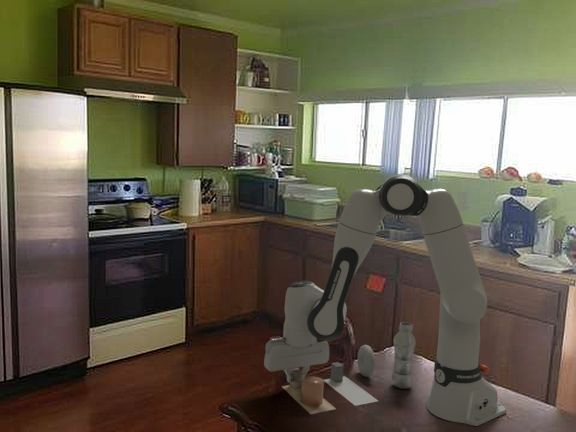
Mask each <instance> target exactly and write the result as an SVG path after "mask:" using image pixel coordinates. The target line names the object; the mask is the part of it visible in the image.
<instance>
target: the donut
mask: <svg viewBox="0 0 576 432" xmlns="http://www.w3.org/2000/svg"><path fill="white" fill-rule="evenodd" d="M375 362H376V359H375V354H374V350H373V349H372V347H371V346H370V345H368V344H364V345H362V346H360V348H359V349H358V353H357V366H358V370H359V373H360V374H361V376H363V377H365V378H368V377H371V376H372V375H373V374H374V371H375V366H376V365H375V364H376V363H375Z"/></svg>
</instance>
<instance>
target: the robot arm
mask: <svg viewBox="0 0 576 432" xmlns="http://www.w3.org/2000/svg"><path fill="white" fill-rule="evenodd" d="M388 214H391V215H394V216H396V217H397V216H399V217H408V216H409V217H416V218H417V220H418V222H419V225H420V229H421V233H422V236H423V239H424V243H425V245H426V249H427V252H428V255H429V258H430V261H431V265H432V269H433V271H434V275H435V278H436V281H437V284H438V288H439V293H440V294H439V295H440V296H439V297H440V298H439V299H440V300H439V315H438V317H439V318H438V340H437V351H436V358H435V359H434V367H433V372H434V374H433V380H432V383H431V389H430V393H429V394H428V400H427V403H426V408H427V410H428V411H429V412H430V413H431V414H432V415H434V416H436V417H438V418H440V419H443V420H446V421H450V422H454V423H461V424H466V425H470V426H475V427H478V426H480V425H483V424H485V423H487V422H489V421H491V420H493V419H496V418H497V417H500V416H502V415H504V414H505V413H507V411H506V408H505V406H504V405H503V404H502V402H499V400H498V398H499V397H498V392H497V389H496V388H495V386H493V385H492V384H491V383H490V382H489V381H487V379H485V378H484V377H483V376H482V373H484V374H488V373H489V372H490V371H489V370H490V368H489V366H487V365H485V364H479V358H480V357H479V355H480V345H481V319H482V318H483V317H484V316H485V314H486V312H487V307H488V297H487V294H486V291H485V288H484V284H483V281H482V279H481V275H480V272H479V269H478V266H477V264H476V259H475V257H474V254H473V251H472V248H471V245H470V242H469V238H468V235H467V233H466V229H465V225H464V221H463V219H462V216H461V213H460V210H459V208H458V206H457V203H456V202H455V199H454V198H453V196H452V194H451V193H450V192H449V191H448V190H447V189H443V188H431V189H427V190H426V189H424V188H423V187H422V186H421V185H420V184H419V182H417V180H415V178H413V177H412V176H411V175H408V174H404V173H396V174H393V175H391V176H389V177H388V178H386V179H385V180H384V181H383V183H382V184H381V185H380V186H378V187H377V188H376V189H375V190H374V189H373V190H372V189H368V188H358V189H355V190H354V191H353V192H352V193H350V196H349V197H348V200H347V201H346V203H345V205H344V207H343V210H342V213H341V215H340V217H339V221H338V223H337V226H336V231H335V234H334V235H335V236H334V240H333V241H334V244H333V250H332V252H333V254H332V262H331V269H330V272H329V275H328V278H327V281H326V284H325V287H324V289H322V288H320V287H319V286H317V285H316V284H315V283H314V282H312V281H309V280H300V281H296V282H293V283H291V284H290V285H289V286H288V287H287V289H286V292H285V301H284V315H285V317H284V318H285V319H284V322H283V335H282V337H278V338H271V339H270V340H269V341H267V342H266V344H265V354H264V359H263V360H264V361H263V366H264V368H265V369H266V370H268V371H269V372H271V373H272V372H276V371H277V372H278V371H284V373H285V375H286V381H287V382H288V383H290V382H294V380H293V379H294V376H292V374H290V372H291V369H294V368H302V369H301V371H302V372H303V375H302V380H303V378H305V377H307V374H308V372H309V370H310V367H311V366H315V365H317V366H318V365H322V364H327V363H328V362H329V360H330V346H329V343H328V342H330V341H334V340H336V339H338V338H339V337H340V336H341V335H342V334H343V332H344V328H345V320H346V316H347V312H348V306H347V304H346V300H347V297H348V294H349V291H350V288H351V284H352V281H353V278H354V277H355V275H356V273H357V271H358V270H359V268H360V266H361V265H362V263H363V262H364V260H365V258H366V257H367V255H368V253H369V251H370V250H371V247H372V246H373V244H374V241H375V239H376V237H377V233H378V231H379V226H380V224H381V221H382V220H383V219H384V217H385V216H387V215H388Z"/></svg>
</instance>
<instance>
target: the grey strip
mask: <svg viewBox="0 0 576 432" xmlns="http://www.w3.org/2000/svg"><path fill="white" fill-rule="evenodd" d="M323 380H324V383H326V384H328V386H330V387H331V388H332V389H333V390H335V392H336V393H338V394H340V395H341V396H342V397H343V398H345V399H346V400H347V401H348V402H350V403H351V404H352V405H354V406H355V407H356V406H360V405H366V404H367V405H368V404H371V403H377V402H379V400H378V399H377V398H375V397H374V396H373V395H371V394H370V393H369V392H368V391H366V390H365V389H363V388H362V387H361V386H359V385H358V384H356V383H355V382H354V381H352V380H350V379H349V377H347V376H345V375H344V365H343V364H342V363H340V362H339V361H337V362H331V366H330V378H327V379H326V378H325V379H323Z"/></svg>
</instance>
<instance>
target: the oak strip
mask: <svg viewBox="0 0 576 432" xmlns="http://www.w3.org/2000/svg"><path fill="white" fill-rule="evenodd" d="M289 373H290V374H292V376H294V379H293V380H294V382H289V384H288V385H281V388H282V389H283V390H284V391H286V392H287V394H289V395H290V396H291V397H292V398H293V399H294V400H295V401H296V402H297V404H299V405H300V406H301V407H302V408H303V409H305V411H307V412H308V414H309V415H314V414H319V413H323V412H329V411H334V410H336V409H337V408H336V407H335V406H333V405H332V404H331V403H330V402H328V400H327V399H325V398H324V397H323V403H322V404H321V405H318V406H308V405H305V404H303V403H302V401H301V397H302V375H303V372H302V369H300V367H298V368H291V372H289Z"/></svg>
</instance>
